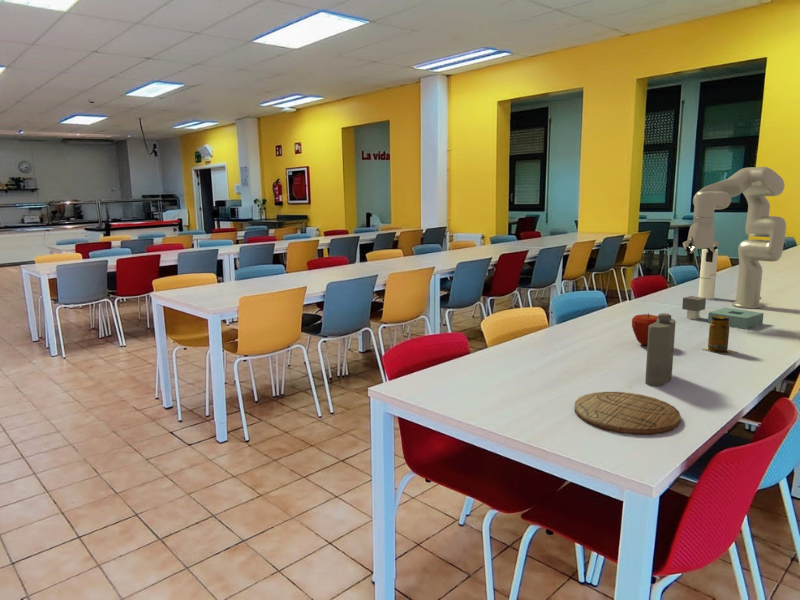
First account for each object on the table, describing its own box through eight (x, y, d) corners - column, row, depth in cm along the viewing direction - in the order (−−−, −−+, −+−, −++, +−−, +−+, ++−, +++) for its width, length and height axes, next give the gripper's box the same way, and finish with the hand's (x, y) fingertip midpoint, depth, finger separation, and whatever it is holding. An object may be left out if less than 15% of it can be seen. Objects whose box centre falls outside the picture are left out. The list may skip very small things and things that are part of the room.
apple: (631, 347, 203) (632, 315, 200) (630, 340, 213) (631, 309, 210) (664, 350, 199) (667, 316, 197) (662, 342, 209) (664, 310, 207)
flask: (664, 388, 161) (669, 320, 158) (643, 384, 165) (647, 317, 161) (675, 374, 173) (679, 310, 170) (655, 371, 177) (659, 308, 173)
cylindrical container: (716, 299, 285) (721, 250, 280) (702, 299, 285) (706, 250, 281) (709, 296, 292) (713, 248, 288) (695, 297, 292) (699, 249, 288)
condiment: (715, 346, 202) (717, 314, 200) (737, 352, 195) (741, 318, 192) (701, 349, 199) (704, 316, 197) (724, 355, 191) (727, 321, 189)
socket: (724, 317, 245) (725, 307, 245) (762, 323, 234) (763, 313, 233) (707, 322, 237) (708, 312, 236) (746, 329, 225) (747, 318, 224)
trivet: (661, 446, 126) (661, 438, 126) (557, 418, 143) (557, 411, 142) (692, 412, 144) (693, 405, 144) (597, 391, 161) (598, 385, 161)
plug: (689, 315, 251) (690, 295, 249) (704, 318, 245) (706, 298, 244) (681, 318, 247) (683, 297, 245) (696, 320, 242) (698, 299, 240)
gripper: (713, 221, 242) (709, 260, 245) (679, 221, 238) (675, 261, 241) (727, 221, 235) (723, 262, 238) (692, 222, 231) (688, 263, 234)
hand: (699, 262), depth 239 cm, fingers open, 9 cm apart
